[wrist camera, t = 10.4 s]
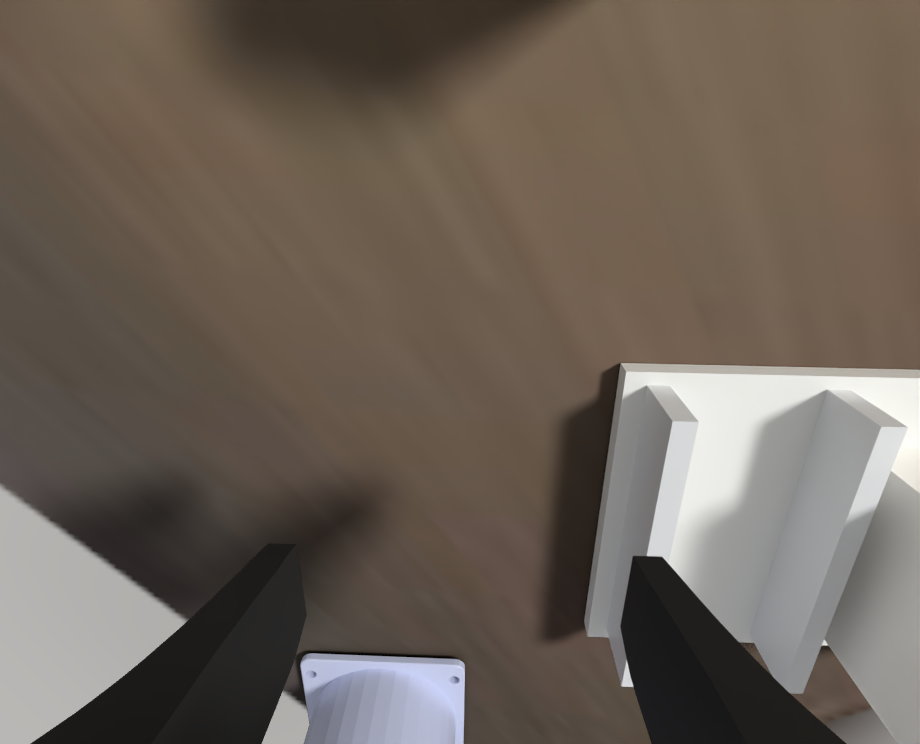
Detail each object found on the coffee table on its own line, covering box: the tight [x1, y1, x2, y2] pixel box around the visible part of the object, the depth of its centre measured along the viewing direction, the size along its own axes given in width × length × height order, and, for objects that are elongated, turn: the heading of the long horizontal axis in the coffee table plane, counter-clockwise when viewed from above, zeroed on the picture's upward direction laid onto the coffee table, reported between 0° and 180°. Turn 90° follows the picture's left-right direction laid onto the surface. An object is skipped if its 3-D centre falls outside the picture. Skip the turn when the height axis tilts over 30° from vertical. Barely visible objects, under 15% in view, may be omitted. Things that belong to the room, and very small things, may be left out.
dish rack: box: [584, 363, 920, 694], centre depth 20 cm, size 13×15×4 cm
